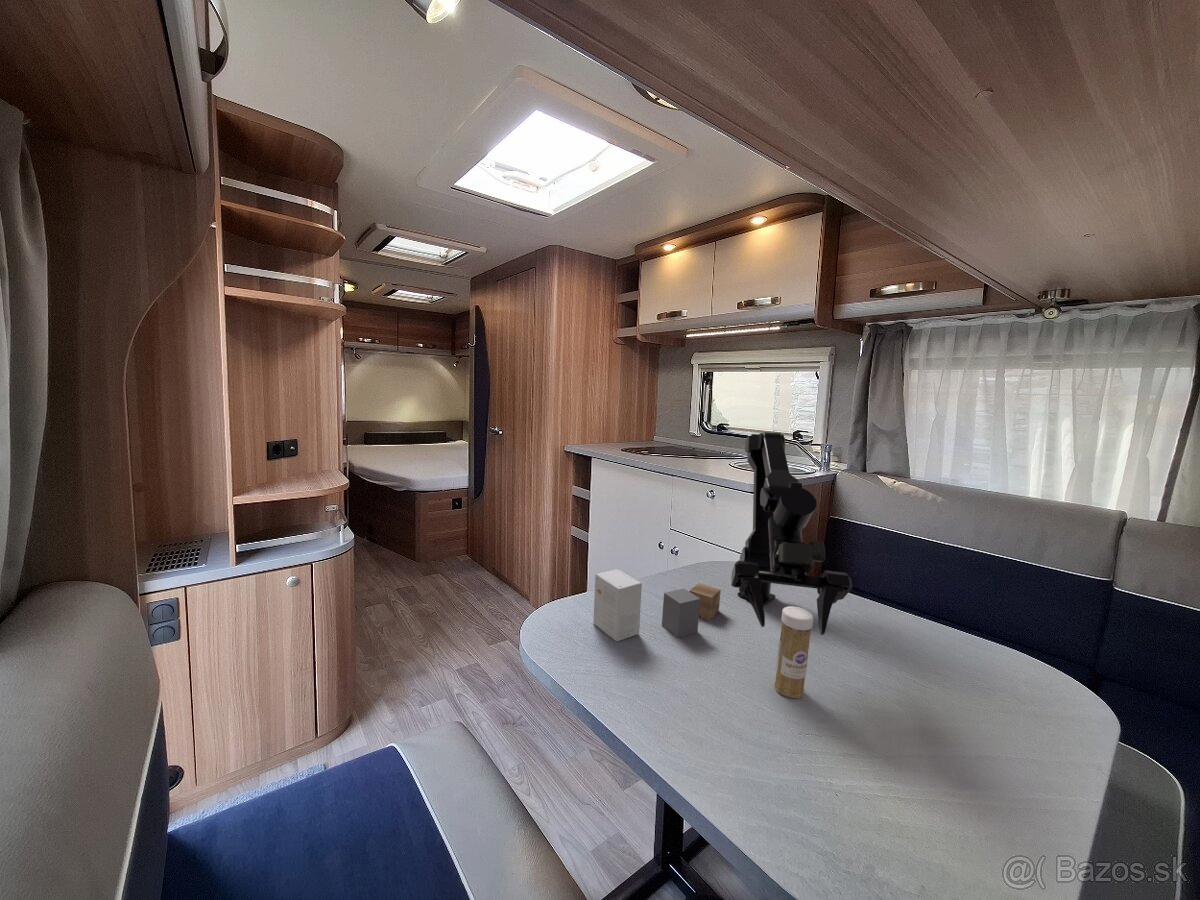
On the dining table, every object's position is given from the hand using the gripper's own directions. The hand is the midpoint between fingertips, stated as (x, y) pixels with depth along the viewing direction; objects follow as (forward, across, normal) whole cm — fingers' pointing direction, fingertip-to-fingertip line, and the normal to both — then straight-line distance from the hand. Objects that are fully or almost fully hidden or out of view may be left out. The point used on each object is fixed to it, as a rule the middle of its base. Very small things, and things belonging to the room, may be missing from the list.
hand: (792, 630), depth 76 cm
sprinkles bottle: (+8, 0, +6) cm, 10 cm away
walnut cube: (-9, -13, +22) cm, 27 cm away
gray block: (-3, -18, +16) cm, 24 cm away
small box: (0, -30, +13) cm, 33 cm away
